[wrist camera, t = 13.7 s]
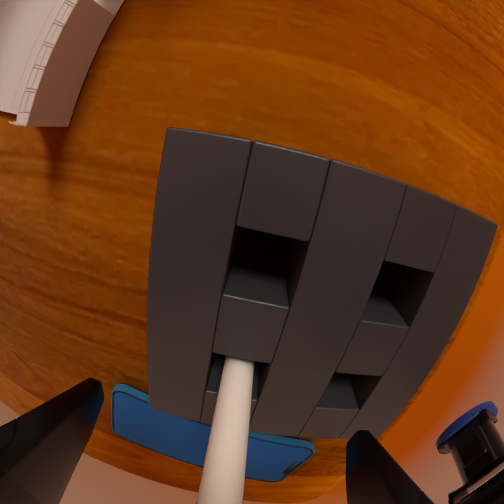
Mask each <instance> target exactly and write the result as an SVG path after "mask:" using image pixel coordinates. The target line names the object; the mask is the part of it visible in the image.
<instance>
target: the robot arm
mask: <svg viewBox="0 0 504 504" xmlns="http://www.w3.org/2000/svg"><path fill="white" fill-rule="evenodd" d="M103 401H104V392H103V388H102V383H101V382H100V381H99V380H96V379H94V378H88V379H86V380H84V381H83V382H81V383H79V384H77V385H76V386H74V387H72V388H70V389H69V390H67V391H65V392H63V393H62V394H60V395H58V396H56V397H54V398H53V399H51V400H49V401H47V402H45V403H44V404H42V405H40V406H38V407H36V408H35V409H33V410H31V411H29V412H27V413H25V414H24V415H22V416H20V417H18V418H17V419H14V420H12V421H10V422H9V423H6V424H4V425H2V426H1V427H0V504H59V503H60V501H61V499H62V496H63V494H64V492H65V490H66V487H67V485H68V483H69V481H70V478H71V476H72V474H73V472H74V470H75V468H76V465H77V463H78V461H79V459H80V457H81V455H82V453H83V451H84V449H85V447H86V445H87V443H88V441H89V439H90V437H91V434H92V432H93V429H94V426H95V423H96V420H97V418H98V415H99V412H100V409H101V407H102V404H103ZM497 421H498V419H497V418H496V417H495V416H494V415H493V414H492V413H491V412H490V411H489V410H488V409H484V410H482V411H481V412H480V413H479V414H478V415H477V416H476V417H474V418H473V419H472V420H471V421H470V422H469V423H467V424H466V425H465V426H464V427H463V428H461V429H460V430H459V431H458V432H456V433H455V434H454V435H453V436H451V437H450V438H449V439H447V440H446V441H445V442H443V443H442V444H440V445H439V446H438V449H439V450H440V451H444V452H447V453H451V454H452V457H453V459H454V462H455V464H456V466H457V469H458V471H459V474H460V477H461V479H462V482H463V486H462V487H461V488H459V489H457V490H456V491H453V492H451V493H450V494H448V497H449V501H448V502H449V504H504V469H503V470H502V471H500V470H501V469H502V468H503V467H504V441H503V440H502V438H501V436H500V434H499V432H498V430H497V429H496V427H495V425H494V424H495V423H496V422H497ZM498 471H500V472H499V473H498V474H496V473H497V472H498ZM494 474H496V475H495V476H494V477H492V476H493V475H494ZM490 477H492V478H491V479H490V480H488V479H489V478H490ZM486 480H488V481H487V482H486V483H484V482H485V481H486ZM482 483H484V484H483V485H481V486H480V487H479V488H477V489H476V490H474V489H475V488H476V487H478V486H479V485H480V484H482ZM346 490H347V502H348V504H434V503H433V502H432V501H431V500H430V499H429V498H428V497H427V496H426V495H425V494H424V492H423V491H421V489H420V488H419V487H418V486H417V485H416V484H415V483H414V481H413V480H412V479H411V478H410V477H409V476H408V475H407V474H406V473H405V472H404V470H403V469H402V468H401V467H400V466H399V465H398V463H397V462H396V461H395V460H394V459H393V458H392V457H391V455H390V454H389V453H388V452H387V451H386V450H385V449H384V447H382V445H381V444H380V443H379V442H378V441H377V439H376V438H375V437H374V436H373V435H372V434H371V432H370V431H368V430H358V431H356V432H355V433H354V435H353V436H352V437H351V438H350V440H349V441H348V443H347V446H346ZM472 490H474V491H473V492H471V493H470V494H468V493H469V492H470V491H472Z"/></svg>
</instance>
